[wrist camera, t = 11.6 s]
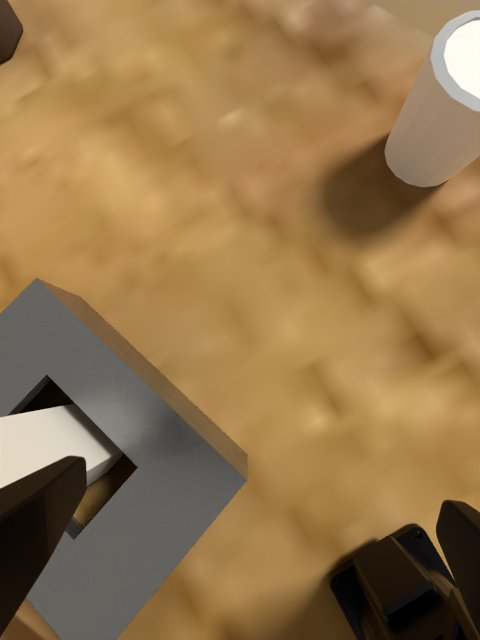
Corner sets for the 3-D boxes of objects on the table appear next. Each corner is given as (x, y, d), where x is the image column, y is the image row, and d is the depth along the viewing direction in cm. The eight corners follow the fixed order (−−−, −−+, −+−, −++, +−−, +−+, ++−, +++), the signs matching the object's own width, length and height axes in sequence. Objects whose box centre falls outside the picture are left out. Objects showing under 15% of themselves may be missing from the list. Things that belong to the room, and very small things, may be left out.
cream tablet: (134, 441, 19) (-61, 563, 7) (107, 471, 19) (-144, 651, 7) (93, 399, 20) (-154, 446, 8) (66, 428, 20) (-234, 523, 7)
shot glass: (397, 206, 22) (465, 130, 15) (362, 129, 23) (411, 25, 16) (483, 179, 22) (591, 91, 15) (445, 104, 23) (528, -9, 16)
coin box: (247, 454, 19) (247, 480, 15) (128, 598, 18) (88, 672, 13) (80, 297, 21) (36, 277, 17) (-36, 415, 20) (-116, 428, 16)
